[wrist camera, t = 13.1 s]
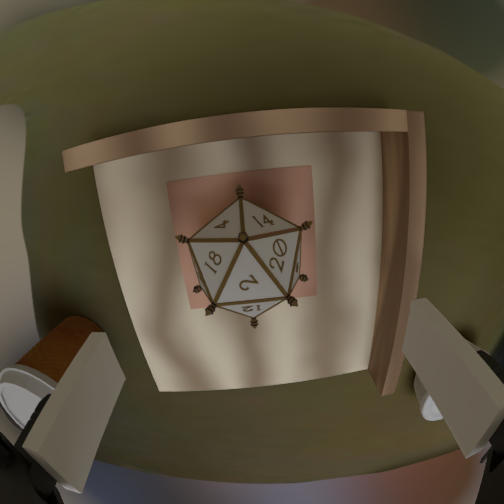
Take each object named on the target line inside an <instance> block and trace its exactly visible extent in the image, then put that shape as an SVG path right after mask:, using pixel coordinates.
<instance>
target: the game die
mask: <svg viewBox="0 0 504 504" xmlns="http://www.w3.org/2000/svg"><path fill="white" fill-rule="evenodd" d="M243 190H244V189H243V188H242V187H241V185H240V184H238V186H237V188H236V190H235V191H236V194H237V196H238V198H237V199H236V200H235V201H233V202H232V203H231V204H230V205H229V206H227V207H226V208H225V209H224V210H222V211H221V212H220V213H219V214H218V215H216V216H215V217H214V218H213V219H212V220H210V221H209V222H208V223H207V224H206V225H204V226H203V227H202V228H201V229H200V230H198V231H197V232H196V233H195V234H194V235H192V236H191V237H190V238H187V237H186V236H183V235H182V234H181V235H178V236H175V238H176V239H177V240H178V241H179V243H180V242H181V243H182V244H183V243H187V244H188V247H189V251H190V254H191V258H192V261H193V264H194V268H195V271H196V275H197V278H198V281H199V284H200V285H196V286H194V290H193V292H194V293H199V292H200V291H201V290H203V292H204V293H205V295H206V296H207V298H208V299H209V301H210V302H211V305H208V306H207V308H206V309H205V316H208V315H211V314H212V315H213V312H215V308H216V307H218V308H221V309H224V310H227V311H230V312H234V313H237V314H240V315H243V316H247V317H250V318H251V321H250V322H251V326H252V327H253V328H254V329H256V327H257V325H259V324H258V320H257V319H256V317H258V316H260V315H261V314H263V313H265V312H266V311H268V310H270V309H271V308H273V307H275V306H276V305H278V304H280V303H281V302H283V301H285V300H287V302H288V304H290V307H291V306H296V307H298V302H297V301H298V300H297V299H295V297H293V296H290V295H291V293H292V291H293V289H294V287H295V285H296V283H297V281H298V279H300V280H301V281H303V282H305V281H308V280H309V279H308V277H307V275H304V274H301V275H300V266H301V240H302V231H303V230H307V229H308V228H309V229H310V226H311V224H312V222H313V221H305V222H304V223H302V225H301V226H298V225H296V224H294V223H292V222H290V221H288V220H286V219H284V218H282V217H280V216H278V215H276V214H275V213H273V212H271V211H269V210H267V209H265V208H263V207H261V206H259V205H257V204H255V203H253V202H251V201H249V200H247V199H245V198H243V193H244V192H243Z"/></svg>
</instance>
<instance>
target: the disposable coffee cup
mask: <svg viewBox="0 0 504 504" xmlns="http://www.w3.org/2000/svg"><path fill="white" fill-rule="evenodd" d="M91 332H103V331H102V329H101V328H100V327H99V326H98V325H96V324H95V323H94V322H92V321H90V320H89V319H87V318H84V317H81V316H69V317H67V318H66V319H65V320H63V321H62V322H61V323H60V324H59V325H58V326H57V327H55V328H54V329H53V330H52V331H51V332H50V333H49V334H47V335H46V336H45V337H44V338H43V339H42V340H41V341H40V342H39V343H37V344H36V345H35V346H34V347H33V348H32V349H31V350H30V351H29V352H28V353H26V354H25V355H24V356H23V357H22V358H21V359H20V360H19V361H18V362H17V363H16V364H15V365H12V366H10V367H7V368H5V369H4V370H2V372H1V373H0V401H1V403H2V405H3V407H4V408H5V410H6V411H7V412H8V414H9V415H10V416H11V417H12V418H13V419H14V421H15V422H16V423H17V424H19V425H20V426H21V427H22V428H23V429H24V427H25V425H26V424H27V422H28V420H30V417H31V415H32V413H33V412H34V410H35V408H36V407H37V405H38V403H39V402H40V401H41V400H42V399H43V398H44V397H45V396H46V395H47V394H52V393H53V391H54V389H55V388H56V386H57V384H58V383H59V381H60V380H61V378H62V376H63V375H64V373H65V372H66V370H67V369H68V367H69V365H70V364H71V362H72V361H73V359H74V358H75V356H76V355H77V353H78V352H79V350H80V349H81V347H82V346H83V344H84V343H85V341H86V340H87V338H88V337H89V335H90V334H91Z"/></svg>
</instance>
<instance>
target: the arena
mask: <svg viewBox="0 0 504 504" xmlns="http://www.w3.org/2000/svg"><path fill="white" fill-rule="evenodd" d="M62 154H63V161H64V167H65V172H68V171H72V170H76V169H80V168H85V167H89V166H93V168H94V174H95V180H96V186H97V191H98V196H99V201H100V206H101V211H102V216H103V220H104V225H105V229H106V233H107V237H108V241H109V245H110V249H111V253H112V257H113V261H114V264H115V268H116V271H117V275H118V278H119V282H120V285H121V288H122V292H123V295H124V298H125V301H126V304H127V307H128V310H129V313H130V316H131V319H132V322H133V325H134V328H135V331H136V334H137V336H138V339H139V342H140V344H141V347H142V350H143V352H144V355H145V357H146V360H147V362H148V365H149V367H150V370H151V372H152V375H153V377H154V379H155V382H156V384H157V386H158V389H159V391H203V390H222V389H236V388H248V387H259V386H268V385H276V384H284V383H292V382H299V381H306V380H312V379H318V378H324V377H329V376H335V375H340V374H345V373H350V372H355V371H360V370H364V369H368V370H369V372H370V374H371V376H372V378H373V380H374V382H375V384H376V386H377V388H378V390H379V393H380V395H381V396H385V395H388V394H392V393H394V392H395V389H396V386H397V382H398V379H399V375H400V372H401V368H402V364H403V360H404V356H405V355H404V353H403V352H402V348H403V343H404V338H405V333H406V328H407V323H408V317H409V312H410V306H411V301H412V300H416V297H417V291H418V285H419V278H420V270H421V262H422V253H423V242H424V230H425V214H426V182H427V168H426V137H425V121H424V112H421V111H410V110H398V109H381V108H352V107H323V108H294V109H277V110H264V111H253V112H243V113H234V114H226V115H218V116H211V117H204V118H197V119H191V120H185V121H180V122H174V123H169V124H164V125H159V126H154V127H149V128H145V129H140V130H136V131H131V132H127V133H123V134H119V135H115V136H111V137H108V138H104V139H100V140H97V141H93V142H90V143H86V144H83V145H80V146H77V147H73V148H70V149H67V150H64V151H62ZM238 184H240V185H241V187H242V188H243V189H244V190H243V192H244V193H243V198H245V199H247V200H249V201H251V202H253V203H255V204H257V205H259V206H261V207H263V208H265V209H267V210H269V211H271V212H273V213H275V214H276V215H278V216H280V217H282V218H284V219H286V220H288V221H290V222H292V223H294V224H296V225H298V226H301V225H302V223H304V222H305V221H313V222H312V224H311V226H310V229H309V228H308V229H307V230H303V231H302V240H301V266H300V275H301V274H304V275H307V277H308V279H309V280H308V281H305V282H303V281H301V280H300V279H298V281H297V283H296V285H295V287H294V289H293V291H292V293H291V295H290V296H293V297H295V299H297V300H298V301H297V302H298V307H296V306H291V307H290V304H288V302H287V300H285V301H283V302H281V303H280V304H278V305H276V306H275V307H273V308H271V309H270V310H268V311H266V312H265V313H263V314H261V315H260V316H258V317H256V319H257V320H258V324H259V325H257V327H256V329H254V328H253V327H252V326H251V322H250V321H251V318H250V317H247V316H243V315H240V314H237V313H234V312H230V311H227V310H224V309H221V308H218V307H216V308H215V312H213V315H212V314H211V315H208V316H205V309H206V308H207V306H208V305H211V302H210V301H209V299H208V298H207V296H206V295H205V293H204V292H203V290H201V291H200V292H199V293H194V292H193V290H194V286H196V285H200V284H199V281H198V278H197V275H196V271H195V268H194V264H193V261H192V258H191V254H190V251H189V247H188V244H187V243H183V244H182V243H181V242H180V243H179V241H178V240H177V239H176V238H175V236H178V235H181V234H182V235H183V236H186V237H187V238H190V237H191V236H192V235H194V234H195V233H196V232H197V231H198V230H200V229H201V228H202V227H203V226H204V225H206V224H207V223H208V222H209V221H210V220H212V219H213V218H214V217H215V216H216V215H218V214H219V213H220V212H221V211H222V210H224V209H225V208H226V207H227V206H229V205H230V204H231V203H232V202H233V201H235V200H236V199H237V198H238V196H237V194H236V191H235V190H236V188H237V186H238Z"/></svg>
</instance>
